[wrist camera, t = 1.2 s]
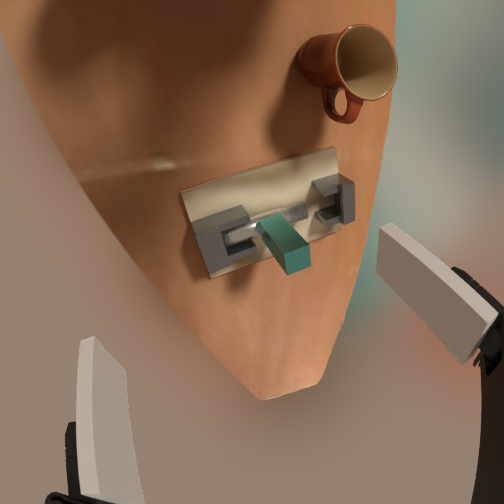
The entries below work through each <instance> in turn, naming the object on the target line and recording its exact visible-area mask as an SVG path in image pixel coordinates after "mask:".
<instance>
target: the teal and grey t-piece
mask: <svg viewBox="0 0 504 504" xmlns="http://www.w3.org/2000/svg"><path fill="white" fill-rule="evenodd" d="M307 218H308V210H307V207H306V205H305V203H304V202H303V200H298V201H295V202H292V203H289V204H286V205H283V206H280V207H277V208H274V209H271V210H268V211H265V212H262V213H259V214H256V215H253V216H250V220H251V222H248V223H245V224H242V225H239V226H236V227H234V228H231V229H228V230H225V231H222V232H221V235H222V238H223V241H224V245H225V248H227V247H229V246H232V245H235V244H238V243H240V242H243V241H246V240H249V239H252V238H254V237H257V236H260V235H261V237H262V240H263V242H264V243H265V245H266V246H267V247H268V249H269V250H270V252H271V253H272V255H273V256H274V257H275V259H276V260H277V262H278V263H279V265H280V266H281V267H282V269H283V270H284V272H285V273H286V275H290V274H292V273H295V272H297V271H300V270H302V269H305V268H307V267H310V266H311V259H310V248H309V244H308V243H307V242H306V241H305V240H304V238H303V237H302V236H301V235H300V234H299V233H298V232H297V231H296V230H295V229H294V228H293V227H292V226H291V224H294V223H297V222H299V221H302V220H305V219H307Z"/></svg>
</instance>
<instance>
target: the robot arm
mask: <svg viewBox="0 0 504 504" xmlns="http://www.w3.org/2000/svg"><path fill="white" fill-rule="evenodd" d="M376 273H377V275H379V277H380V278H381V279H383V281H385V282H386V284H388V286H389V287H390V288H391V289H392V290H393V291H394V292H395V293H396V294H397V295H398V296H399V297H400V298H401V299H402V300H403V301H404V302H405V303H406V304H407V305H408V306H409V307H410V308H411V309H412V310H413V311H414V312H415V313H416V315H417V316H418V317H419V318H420V319H421V320H422V321H423V322H424V323H425V324H426V325H427V326H428V328H429V329H430V330H432V332H433V333H434V334H435V335H436V336H437V337H438V339H439V340H440V341H441V342H442V343H443V344H444V345H445V346H446V348H447V349H448V350H449V351H450V352H451V353H452V355H453V356H454V357H455V358H456V359H457V360H458V362H459V363H460V364H461V365H463V364H464V363H465V362H466V361H468V360H469V359H470V358H471V357H472V356H473V355H474V353H475V352H476V350H477V349H478V347H479V348H480V350H481V351H480V353H479V354H478V356H477V357H476V359H475V360H474V363H473V366H476V364H477V363H478V361H479V360H480V362H479V365H478V366H480V368H481V391H482V392H481V393H482V411H481V435H480V448H479V458H478V465H477V473H476V479H475V485H474V491H473V496H472V501H471V504H504V306H502V305H501V304H500V303H499V302H498V301H497V300H496V299H495V298H494V297H493V296H492V295H491V294H489V293H488V292H487V291H486V290H485V289H484V288H483V287H482V286H480V285H479V283H477V282H476V281H475V280H473V278H472V277H470V276H469V275H468V274H467V273H466V272H465V271H463V270H461V269H458V268H456V267H452V268H451V269H450V268H449V267H448V266H446V265H445V264H444V263H443V262H442V261H440V260H439V259H438V258H437V257H436V256H434V255H433V254H432V253H430V252H429V251H428V250H427V249H425V248H424V247H423V246H422V245H420V244H419V243H418V242H417V241H415V240H414V239H413V238H411V237H410V236H409V235H408V234H406V233H405V232H403V231H402V230H401V229H400V228H398V227H397V226H395V225H394V224H393V223H389V224H387V225H384V226H382V227H380V228H379V242H378V254H377V265H376ZM78 360H79V361H78V373H77V393H76V421H75V422H70V423H68V427H67V430H66V433H65V447H66V450H65V451H66V458H67V459H66V470H67V481H68V492H69V495H68V496H67V495H64V494H61V493H58V492H52V493H50V494H49V495H48V496H47V498H46V500H45V504H145V501H144V497H143V492H142V488H141V483H140V478H139V473H138V467H137V462H136V456H135V450H134V444H133V437H132V430H131V422H130V413H129V403H128V392H127V378H126V370H125V369H124V368H123V367H122V366H121V365H120V364H119V363H118V362H117V361H116V360H115V359H114V358H113V356H112V355H110V354H109V352H108V351H107V350H106V349H105V348H104V347H103V345H102V344H101V343H100V342H99V341H98V340H97V338H96V337H95V336H93V337H89V338H87V339H84V340H81V341H80V348H79V359H78Z"/></svg>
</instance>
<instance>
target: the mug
mask: <svg viewBox="0 0 504 504" xmlns="http://www.w3.org/2000/svg"><path fill="white" fill-rule="evenodd" d="M298 66H299V69H300V71H301V73H302V75H303V76H304V77H305V79H306V80H307V81H309V82H310V83H312V84H314V85H316V86H318V87H321V94H322V100H323V106H324V110H325V112H326V114H327V115H328V116H329V117H330V118H331V119H332V120H334V121H336V122H339V123H342V124H351V123H353V122H354V121H355V120H356V119H357V117H358V115H359V112H360V109H361V107H362V105H363V101H364V100H366V101H375V100H378V99H380V98H382V97H384V96H385V95H387V94H388V93H389V91H390V90H391V89H392V87H393V85H394V83H395V81H396V77H397V71H398V65H397V57H396V54H395V51H394V48H393V46H392V44H391V43H390V41H389V40H388V38H387V37H386V36H385V35H384V34H383V33H382V32H381V31H379V30H378V29H376V28H374V27H372V26H370V25H366V24H356V25H352V26H350V27H348V28H346V29H345V30H343V31H342V32H341V33H334V34H325V35H318V36H315V37H312V38H310V39H309V40H308V41H306V42H305V43H304V44H303V45H302V46H301V48H300V50H299V53H298ZM341 90H344V91H345V95H346V98H347V109H346V112H345V114H344V115H343V116H342V115H340V114H339V113H338V112H337V111H336V109H335V97H336V95H337V93H338V91H341Z"/></svg>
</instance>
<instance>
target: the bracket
mask: <svg viewBox="0 0 504 504" xmlns="http://www.w3.org/2000/svg"><path fill="white" fill-rule="evenodd" d="M248 222H251V220H250V216H249V214H248V212H247V211H246V210H245V208H244V207H243V206H242V204H241V205H238V206H235V207H232V208H230V209H227V210H224V211H221V212H218V213H215V214H212V215H209V216H207V217H204V218H201V219H198V220H195V221H193V222H191V225H192V228H193V231H194V234H195V237H196V240H197V243H198V245H199V248H200V251H201V253H202V256H203V259H204V262H205V264H206V267H207V269H208V272H209V274H210V273H213V272H216V271H218V270H221V269H224V268H226V267H229V266H231V264H230V262H232V261H235V260H237V259H240V258H243V257H245V256H248V255H251V254H254V253H256V252H258V251H257V246H256V245H255V243H254V242H253V240H252V239H249V240H246V241H243V242H240V243H238V244H235V245H232V246H229V247H227V248H225V245H224V241H223V238H222V235H221V232H222V231H225V230H228V229H231V228H234V227H236V226H239V225H242V224H245V223H248Z"/></svg>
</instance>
